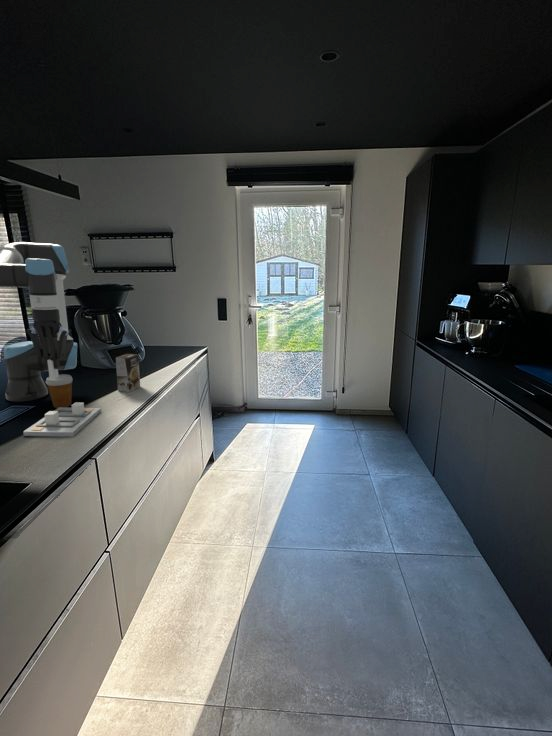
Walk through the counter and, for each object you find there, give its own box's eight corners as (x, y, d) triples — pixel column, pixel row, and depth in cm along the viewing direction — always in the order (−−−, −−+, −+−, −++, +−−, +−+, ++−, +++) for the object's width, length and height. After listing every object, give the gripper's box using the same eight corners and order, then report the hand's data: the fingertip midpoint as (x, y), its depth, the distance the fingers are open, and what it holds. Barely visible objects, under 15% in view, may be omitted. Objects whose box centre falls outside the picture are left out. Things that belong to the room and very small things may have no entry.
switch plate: (23, 435, 119) (22, 430, 119) (59, 410, 140) (58, 406, 140) (72, 436, 120) (72, 431, 119) (100, 411, 141) (100, 406, 141)
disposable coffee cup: (56, 411, 140) (52, 382, 137) (44, 406, 144) (40, 377, 141) (80, 404, 148) (77, 376, 144) (67, 399, 152) (64, 372, 149)
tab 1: (45, 425, 124) (44, 414, 123) (50, 421, 127) (49, 411, 126) (54, 425, 124) (53, 414, 123) (59, 421, 127) (58, 411, 126)
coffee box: (129, 392, 164) (127, 358, 160) (117, 390, 165) (114, 357, 161) (141, 386, 173) (138, 354, 169) (129, 385, 174) (126, 353, 170)
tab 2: (72, 415, 133) (71, 405, 132) (76, 412, 136) (75, 402, 134) (80, 415, 133) (79, 405, 132) (84, 412, 136) (83, 402, 135)
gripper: (16, 308, 111) (27, 380, 117) (59, 310, 112) (68, 381, 118) (31, 306, 118) (41, 374, 125) (71, 307, 119) (79, 375, 125)
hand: (54, 377), depth 121 cm, fingers closed
